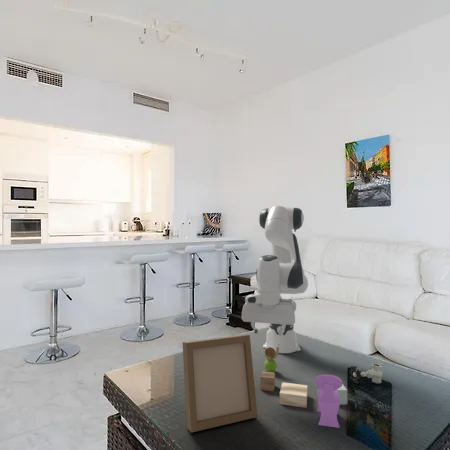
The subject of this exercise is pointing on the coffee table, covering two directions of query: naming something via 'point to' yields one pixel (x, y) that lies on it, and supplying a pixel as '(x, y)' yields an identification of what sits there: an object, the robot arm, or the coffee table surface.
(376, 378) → the valve
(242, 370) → the photo frame
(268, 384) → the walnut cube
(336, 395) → the toy chair
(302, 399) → the beech block
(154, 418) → the coffee table surface
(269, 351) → the snail figurine
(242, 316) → the robot arm
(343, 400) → the grey-green cube
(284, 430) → the coffee table surface
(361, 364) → the coffee table surface
